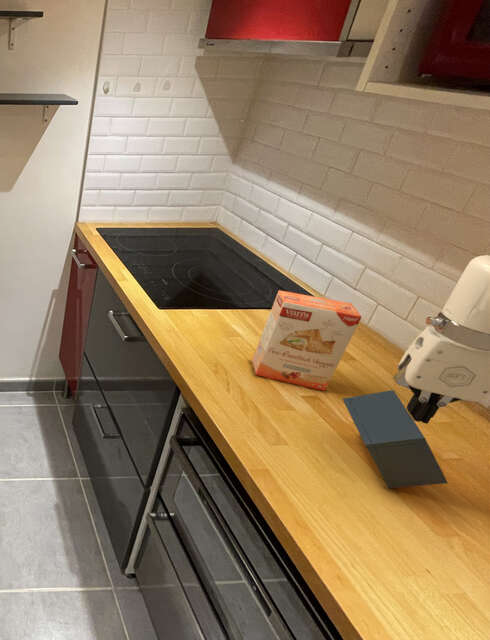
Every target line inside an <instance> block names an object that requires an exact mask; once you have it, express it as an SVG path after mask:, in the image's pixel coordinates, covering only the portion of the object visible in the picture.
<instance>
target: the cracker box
mask: <svg viewBox="0 0 490 640" xmlns="http://www.w3.org/2000/svg"><path fill="white" fill-rule="evenodd" d="M272 304H273V305H272V307H271V309H270V311H269V315H268V317H267V321H266V323H265V325H264V327H263V330H262V333H261V336H260V338H259V341H258V343H257V346H256V349H255V351H254V354H253V356H252V359H251V364H252V366H253V369H254V373H255V376H258V377H259V376H260V377H264V378H268V379H273V380H276V381H281V382H284V383H289V384H293V385H297V386H302V387H306V388H310V389H315V390H317V391H318V390H319V391H322V392H325V391H326V390H327V388H328V387H329V384H330V382H331V380H332V378H333V377H334V374H335V371H336V369H337V367H338V366H339V363H340V362H341V360H342V358H343V356H344V354H345V351H346V350H347V348H348V346H349V344H350V341H351V340H352V338H353V335H354V333H355V331H356V329H357V327H358V325H359V323H360V321H361V320H362V315H361V314H360V313H359V311H358V310H357V309H356V308H355V306H354V305H353V303H352V302H347V301H341V300H335V299H329V298H324V297H319V296H313V295H308V294H303V293H297V292H291V291H285V290H278V292H277V294H276V297H275V299H274V301H273V303H272Z"/></svg>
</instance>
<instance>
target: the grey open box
mask: <svg viewBox="0 0 490 640" xmlns="http://www.w3.org/2000/svg"><path fill="white" fill-rule="evenodd" d="M342 401H343V403H344V405H345V407H346V409H347V411H348V413H349V415H350V418H351V419H352V421H353V423H354V426H355V428H356V430H357V432H358V434H359V436H360V438H361V440H362V441H363V443H364V445H365V447H366V449H367V451H368V453H369V455H370V457H371V459H372V461H373V463H374V464H375V466H376V469H377V470H378V472H379V473H380V475H381V477H382V480H383V481H384V483H385V485H386V487H387V488H388V489H396V488H409V487H420V486H421V487H422V486H432V485H433V486H434V485H446V484H448V481H447V479H446V476H445V474H444V473H443V471H442V468H441V466H440V465H439V462H438V461H437V458H436V456H435V455H434V452H433V451H432V449H431V447H430V445H429V443H428V441H427V439H426V437H425V435H424V434H423V432H422V431H421V429H420V428H419V427H418V425H417V424H416V421H415V420H414V419H413V418H412V416H411V415H410V413H409V412H408V410H407V407H405V405H404V404H403V402H402V401H401V399H400V397H399V396H398V395H397V393H396V391H395V390H394V389H390V390H385V391H379V392H373V393H368V394H361V395H357V396H350V397H344V398H342Z"/></svg>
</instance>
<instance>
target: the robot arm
mask: <svg viewBox="0 0 490 640" xmlns="http://www.w3.org/2000/svg"><path fill="white" fill-rule="evenodd" d="M425 324H426V325H428V326H427V327H425V328H424V329H423V330H422V331H421V332H420V333H419V334H418V335H417V336H416V337H415V338H414V340H413V341H412V342H411V344H410V345H409V346H408V348H407V349H406V351H405V353H404V354H403V356H402V357H401V359H400V361H399V363H398V365H397V370H398V371H397V372H396V373H395V374H394V375H393V376H392V379H393V380H394V382H395V384H397V385H399V386H401V387H404V388H406V389H408V390H410V391H411V392H412V393H413V395H412V396H411V398H410V400H409V401H408V403H407V405H406V410H407V411H408V413H409V414H410V416H411V417H412V419H413V420H414V422H418V423H419V422H421V423H423V424H426V425H427V424H428V423H429V422H430V421H431V419H433V418H435V417H434V416H435V415H436V414H437V412H438V410H439V409H440V408H445V407H447V406H448V405H449V404H450V403H451V404H452V403H454V402H458V401H460V402H474V403H475V402H478V403H479V402H483V401H485V400H486V399H487V398H488V397H489V396H490V255H489V254H483V255H479V256H475V257H474V258H472V259H471V260H470V261H469V262H468V264H467V265H466V267H465V268H464V271H463V272H462V273H461V276H460V277H459V280H458V281H457V283H456V284H455V287H453V289H452V292H451V293H450V295H449V297H448V299H447V300H446V302H445V304H444V306H443V308H442V309H441V311H440V312H438V314H437V315H436V316H434V317H433V316H427V317H426V319H425Z"/></svg>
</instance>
